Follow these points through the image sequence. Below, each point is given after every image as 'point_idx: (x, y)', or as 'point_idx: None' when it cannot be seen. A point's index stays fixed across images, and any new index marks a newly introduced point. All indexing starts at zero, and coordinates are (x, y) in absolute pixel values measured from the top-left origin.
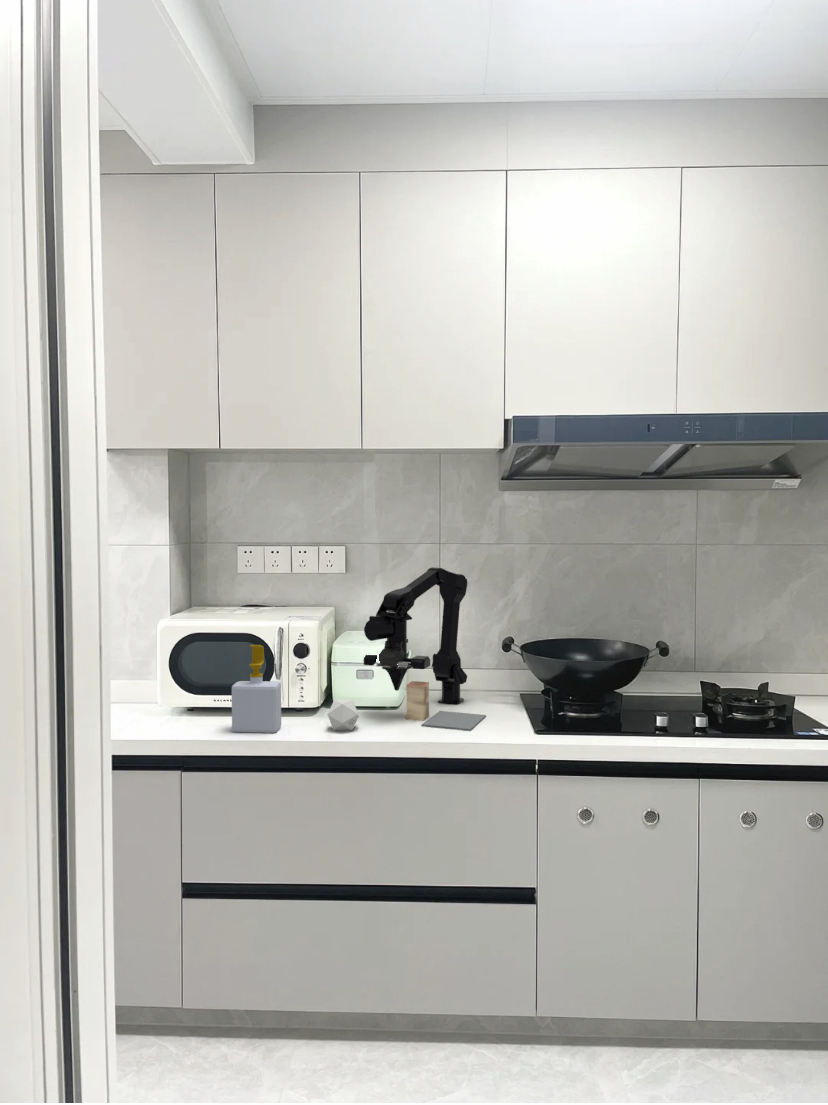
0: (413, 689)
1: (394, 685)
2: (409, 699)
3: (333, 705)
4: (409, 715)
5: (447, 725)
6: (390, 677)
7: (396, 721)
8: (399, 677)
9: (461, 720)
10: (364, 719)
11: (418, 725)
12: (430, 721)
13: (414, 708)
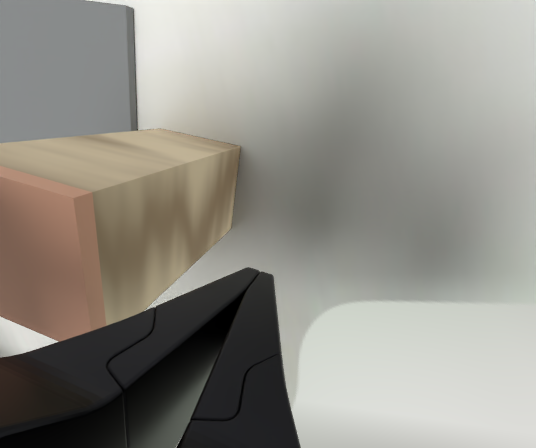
0: (53, 168)
1: (260, 295)
2: (159, 160)
3: None
4: (215, 145)
5: (18, 20)
6: (281, 379)
7: (284, 87)
8: (124, 328)
9: (15, 133)
10: (513, 95)
11: (152, 24)
12: (108, 85)
13: (163, 144)
